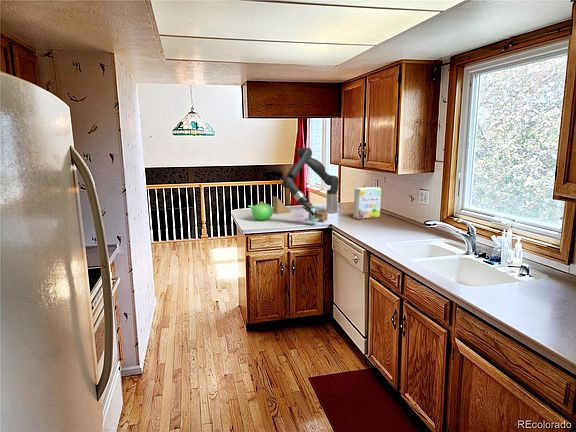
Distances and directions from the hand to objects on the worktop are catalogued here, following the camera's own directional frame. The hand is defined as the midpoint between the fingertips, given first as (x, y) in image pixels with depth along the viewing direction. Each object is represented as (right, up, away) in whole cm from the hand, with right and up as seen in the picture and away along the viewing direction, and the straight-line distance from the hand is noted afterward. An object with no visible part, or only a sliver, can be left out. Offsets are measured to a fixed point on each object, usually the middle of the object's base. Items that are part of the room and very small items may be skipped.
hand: (314, 214), depth 308 cm
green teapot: (-42, -4, +21) cm, 47 cm away
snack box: (+45, -3, +26) cm, 52 cm away
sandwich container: (-26, +2, +51) cm, 58 cm away
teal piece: (-2, -5, +2) cm, 5 cm away
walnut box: (+4, -5, +18) cm, 19 cm away
